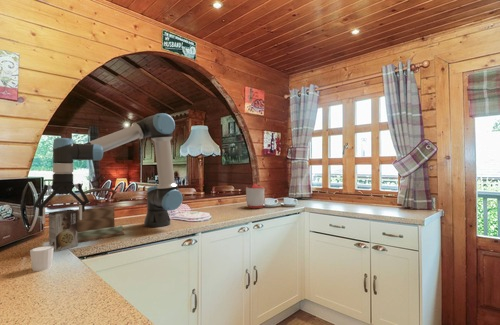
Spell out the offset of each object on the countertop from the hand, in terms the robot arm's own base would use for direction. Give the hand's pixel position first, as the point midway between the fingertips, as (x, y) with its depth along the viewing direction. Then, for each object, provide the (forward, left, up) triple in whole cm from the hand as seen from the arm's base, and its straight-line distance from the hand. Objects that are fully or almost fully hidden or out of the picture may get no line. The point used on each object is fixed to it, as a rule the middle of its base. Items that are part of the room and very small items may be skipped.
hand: (62, 221), depth 123 cm
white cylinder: (+10, +23, -12) cm, 28 cm away
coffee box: (0, 0, -12) cm, 12 cm away
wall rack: (-16, -13, -12) cm, 24 cm away
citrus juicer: (-135, -19, -12) cm, 137 cm away
